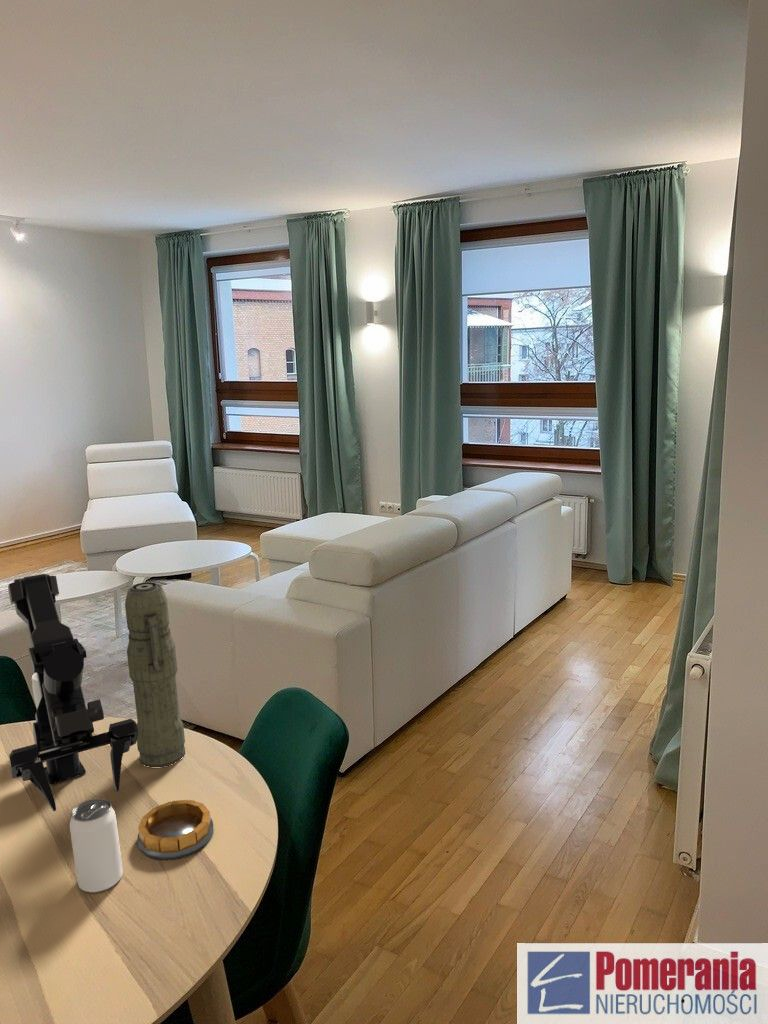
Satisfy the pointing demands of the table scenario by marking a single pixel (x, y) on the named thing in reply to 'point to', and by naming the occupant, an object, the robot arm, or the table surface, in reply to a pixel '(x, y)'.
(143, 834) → the ring plate
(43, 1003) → the table surface
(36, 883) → the table surface
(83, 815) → the can
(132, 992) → the table surface
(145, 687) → the thermos
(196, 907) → the table surface
